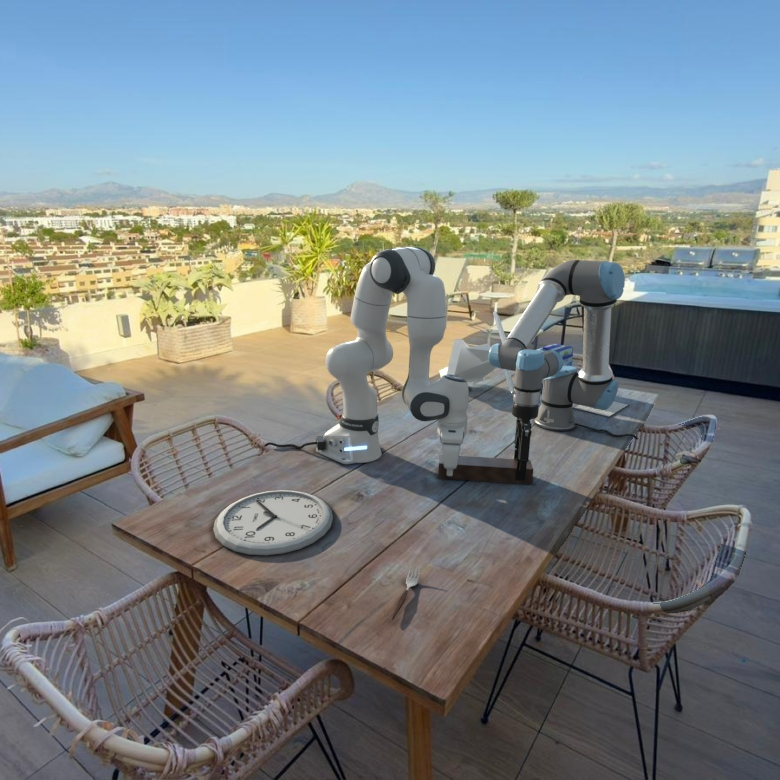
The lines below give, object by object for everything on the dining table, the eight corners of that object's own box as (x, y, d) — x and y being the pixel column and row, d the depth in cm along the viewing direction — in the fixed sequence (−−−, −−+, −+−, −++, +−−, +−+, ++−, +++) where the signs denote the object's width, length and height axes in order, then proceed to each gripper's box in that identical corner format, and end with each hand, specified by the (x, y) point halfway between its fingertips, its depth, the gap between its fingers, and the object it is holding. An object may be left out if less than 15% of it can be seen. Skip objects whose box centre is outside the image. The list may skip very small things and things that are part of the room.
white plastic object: (461, 429, 252) (437, 405, 227) (444, 352, 274) (420, 323, 250) (535, 404, 240) (518, 377, 215) (510, 326, 262) (492, 293, 237)
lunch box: (545, 396, 239) (550, 351, 232) (524, 391, 246) (528, 347, 240) (572, 385, 256) (577, 343, 250) (552, 380, 263) (557, 339, 257)
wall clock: (331, 546, 121) (198, 551, 119) (331, 552, 122) (199, 557, 119) (333, 485, 150) (227, 488, 147) (334, 490, 150) (227, 493, 148)
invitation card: (608, 416, 214) (573, 407, 224) (608, 416, 214) (573, 408, 224) (628, 404, 229) (594, 396, 238) (628, 405, 229) (594, 397, 238)
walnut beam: (528, 474, 163) (530, 460, 161) (531, 484, 156) (533, 469, 155) (438, 468, 165) (439, 454, 164) (438, 478, 159) (438, 463, 158)
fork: (385, 619, 101) (385, 611, 101) (410, 571, 116) (411, 563, 115) (398, 623, 100) (398, 614, 100) (422, 574, 115) (422, 566, 114)
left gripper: (442, 415, 168) (440, 455, 172) (440, 439, 148) (438, 483, 152) (462, 416, 167) (459, 456, 171) (462, 441, 147) (460, 485, 152)
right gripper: (509, 392, 162) (503, 460, 169) (516, 413, 144) (509, 488, 151) (534, 393, 161) (527, 461, 168) (544, 415, 143) (536, 490, 150)
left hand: (449, 469), depth 161 cm, fingers closed on walnut beam, 6 cm apart
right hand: (518, 474), depth 159 cm, fingers closed on walnut beam, 6 cm apart
